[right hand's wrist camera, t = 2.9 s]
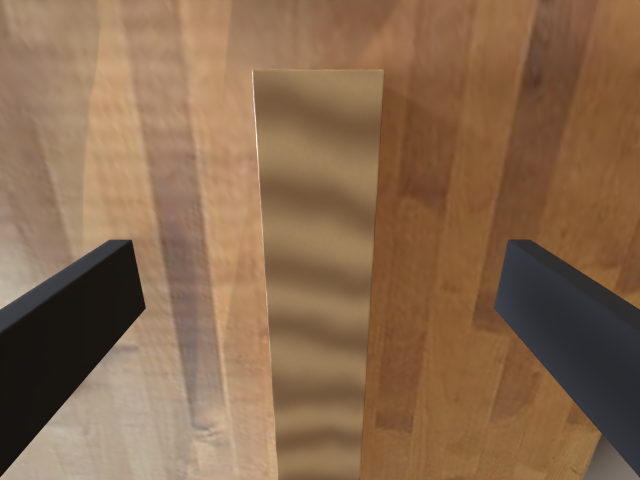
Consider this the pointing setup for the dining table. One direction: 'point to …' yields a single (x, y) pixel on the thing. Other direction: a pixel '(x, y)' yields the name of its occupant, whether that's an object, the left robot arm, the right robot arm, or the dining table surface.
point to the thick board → (318, 258)
